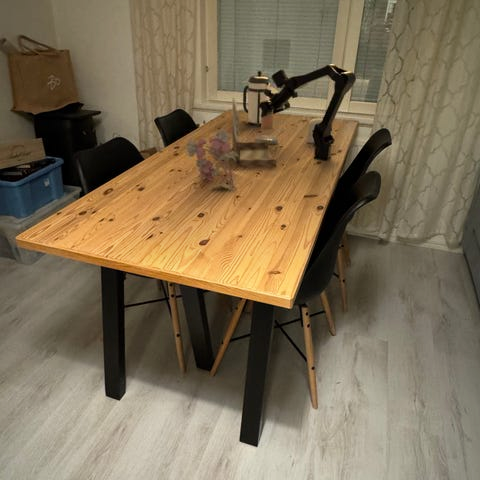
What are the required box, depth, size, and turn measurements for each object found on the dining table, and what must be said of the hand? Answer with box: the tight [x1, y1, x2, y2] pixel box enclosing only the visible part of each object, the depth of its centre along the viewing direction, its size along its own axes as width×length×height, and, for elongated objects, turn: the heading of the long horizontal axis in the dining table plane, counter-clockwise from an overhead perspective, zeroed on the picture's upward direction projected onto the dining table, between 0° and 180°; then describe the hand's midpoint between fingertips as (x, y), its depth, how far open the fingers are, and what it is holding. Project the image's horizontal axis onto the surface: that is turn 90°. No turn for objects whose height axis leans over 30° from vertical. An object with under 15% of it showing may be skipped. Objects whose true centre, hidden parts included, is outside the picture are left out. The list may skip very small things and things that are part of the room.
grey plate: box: [254, 134, 279, 146], centre depth 209 cm, size 12×12×2 cm
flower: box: [181, 128, 240, 192], centre depth 154 cm, size 20×22×25 cm
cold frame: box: [232, 96, 278, 168], centre depth 181 cm, size 18×28×25 cm, turn 4°
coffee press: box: [242, 70, 271, 128], centre depth 236 cm, size 17×16×30 cm
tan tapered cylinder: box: [260, 100, 274, 131], centre depth 202 cm, size 6×6×13 cm
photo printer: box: [306, 117, 323, 144], centre depth 208 cm, size 10×4×12 cm, turn 98°
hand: (265, 115), depth 203 cm, fingers closed on tan tapered cylinder, 6 cm apart
